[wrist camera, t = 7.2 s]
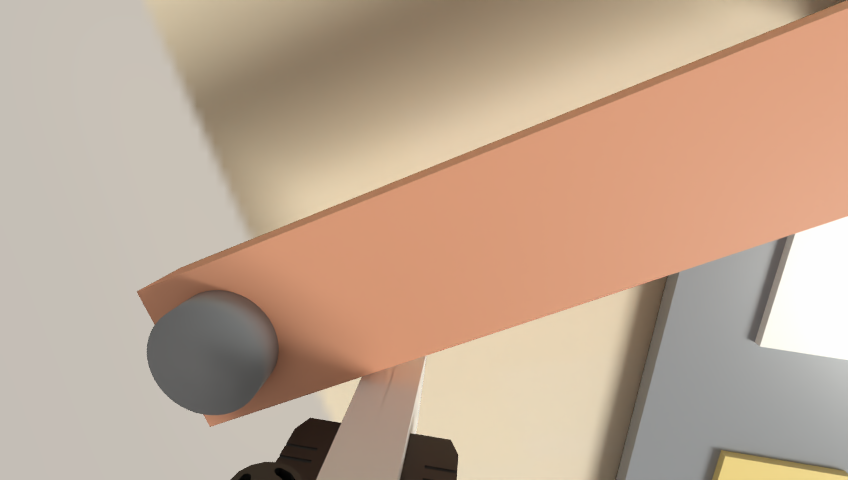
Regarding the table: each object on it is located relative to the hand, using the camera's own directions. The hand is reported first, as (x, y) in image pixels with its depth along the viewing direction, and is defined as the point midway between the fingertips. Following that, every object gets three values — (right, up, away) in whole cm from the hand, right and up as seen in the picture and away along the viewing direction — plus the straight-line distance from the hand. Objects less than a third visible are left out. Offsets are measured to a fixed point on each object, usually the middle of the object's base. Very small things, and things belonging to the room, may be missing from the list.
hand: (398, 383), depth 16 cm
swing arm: (+7, +8, +3) cm, 11 cm away
